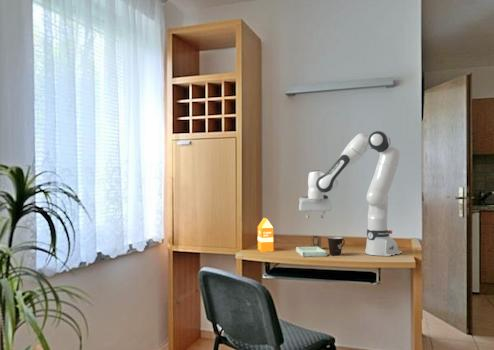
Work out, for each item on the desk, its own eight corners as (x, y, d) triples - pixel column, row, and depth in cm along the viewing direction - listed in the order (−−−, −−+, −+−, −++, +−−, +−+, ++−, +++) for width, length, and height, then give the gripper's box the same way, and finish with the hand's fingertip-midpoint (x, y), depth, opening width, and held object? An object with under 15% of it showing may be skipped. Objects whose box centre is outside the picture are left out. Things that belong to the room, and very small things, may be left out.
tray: (318, 250, 261) (318, 246, 261) (327, 256, 243) (327, 252, 243) (295, 251, 260) (295, 247, 260) (303, 256, 241) (303, 252, 241)
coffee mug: (331, 256, 242) (331, 239, 242) (325, 253, 251) (325, 236, 251) (350, 255, 244) (350, 238, 244) (343, 253, 253) (343, 236, 253)
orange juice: (261, 252, 257) (261, 219, 257) (257, 249, 266) (257, 217, 266) (273, 251, 259) (273, 218, 259) (269, 249, 268) (269, 217, 268)
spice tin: (318, 248, 270) (318, 235, 270) (320, 249, 265) (320, 236, 265) (310, 248, 270) (310, 235, 270) (312, 249, 265) (312, 236, 265)
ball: (316, 247, 269) (315, 243, 269) (318, 248, 267) (318, 243, 267) (312, 248, 268) (312, 243, 268) (315, 248, 265) (315, 244, 265)
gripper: (300, 196, 263) (300, 218, 263) (332, 196, 265) (332, 218, 265) (297, 196, 269) (297, 217, 269) (328, 195, 272) (328, 217, 272)
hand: (315, 218), depth 267 cm, fingers open, 8 cm apart
